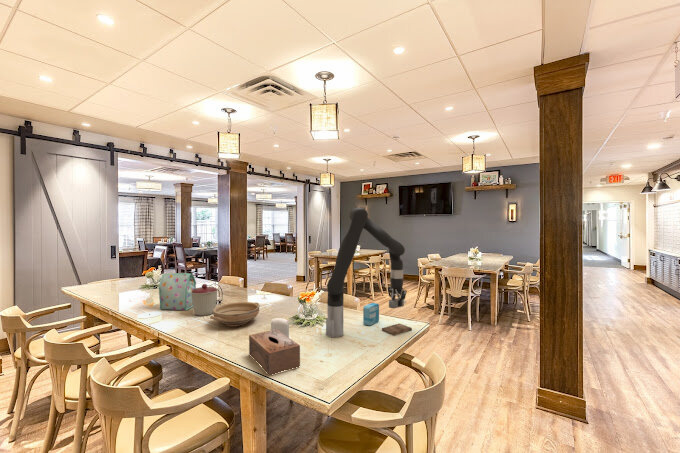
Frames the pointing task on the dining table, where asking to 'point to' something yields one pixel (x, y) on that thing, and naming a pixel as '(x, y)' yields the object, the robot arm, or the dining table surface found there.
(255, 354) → the tissue box cover
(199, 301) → the canister
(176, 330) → the dining table surface
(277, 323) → the photo printer
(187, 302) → the lunch bag
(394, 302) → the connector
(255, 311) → the ceramic bowl
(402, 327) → the walnut board
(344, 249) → the robot arm
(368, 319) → the data package
